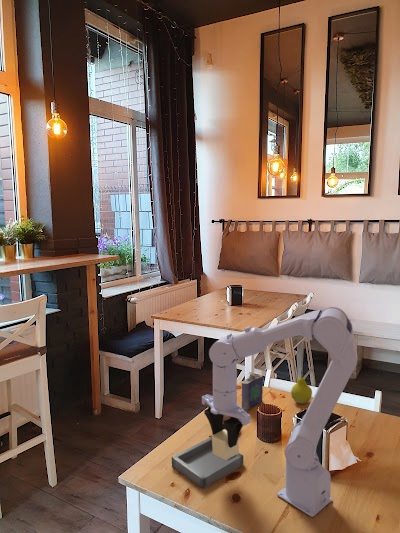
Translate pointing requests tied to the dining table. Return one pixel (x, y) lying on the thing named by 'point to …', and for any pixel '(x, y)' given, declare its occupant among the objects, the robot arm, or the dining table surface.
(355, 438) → the dining table surface
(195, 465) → the slate tray
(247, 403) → the flask
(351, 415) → the dining table surface
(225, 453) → the cheese cube
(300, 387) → the fruit
